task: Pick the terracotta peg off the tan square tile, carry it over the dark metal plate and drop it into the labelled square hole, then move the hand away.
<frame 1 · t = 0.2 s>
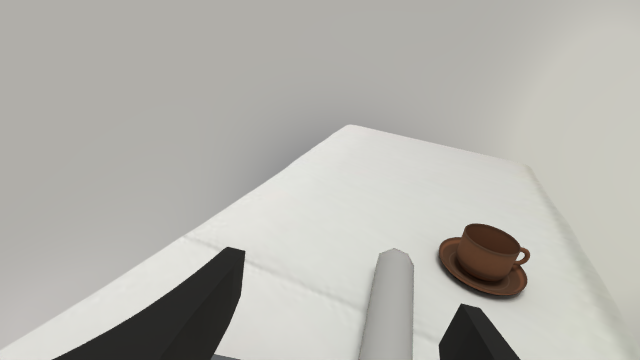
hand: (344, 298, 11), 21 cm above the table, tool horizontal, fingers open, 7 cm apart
cup and saucer: (476, 273, 48), on the table
tube: (413, 337, 33), point 2 cm above the table
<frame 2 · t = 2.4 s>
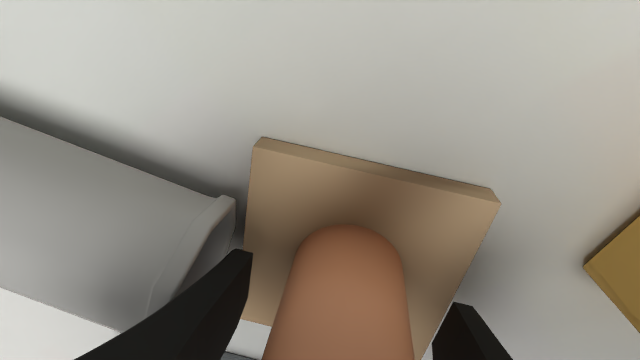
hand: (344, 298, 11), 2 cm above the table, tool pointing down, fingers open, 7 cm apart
tan square tile: (348, 252, 13), on the table
peg: (347, 269, 12), point 1 cm above the table, touching tan square tile
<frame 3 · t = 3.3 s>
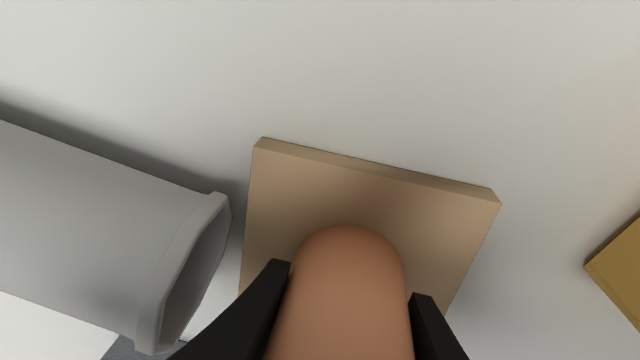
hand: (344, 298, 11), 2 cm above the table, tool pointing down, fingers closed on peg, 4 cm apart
tan square tile: (348, 253, 13), on the table
peg: (347, 270, 12), point 1 cm above the table, touching gripper, tan square tile
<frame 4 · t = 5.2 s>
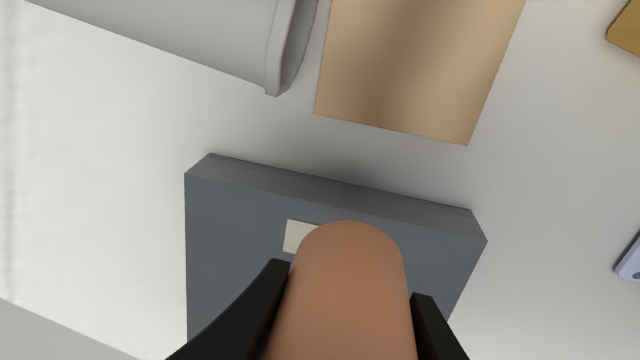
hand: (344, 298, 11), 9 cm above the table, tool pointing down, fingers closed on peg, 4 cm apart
tan square tile: (410, 45, 16), on the table
peg: (348, 267, 12), point 8 cm above the table, touching gripper
hole plate: (315, 280, 23), on the table
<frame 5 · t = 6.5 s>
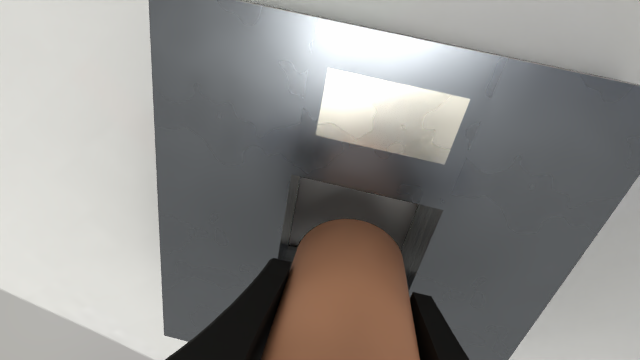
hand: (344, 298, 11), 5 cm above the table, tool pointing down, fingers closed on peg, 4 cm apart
peg: (348, 266, 12), point 4 cm above the table, touching gripper
hole plate: (352, 213, 16), on the table
when the fingers open (5 cm above the table, at t = 7.3 s): peg drops 4 cm, resting in hole plate.
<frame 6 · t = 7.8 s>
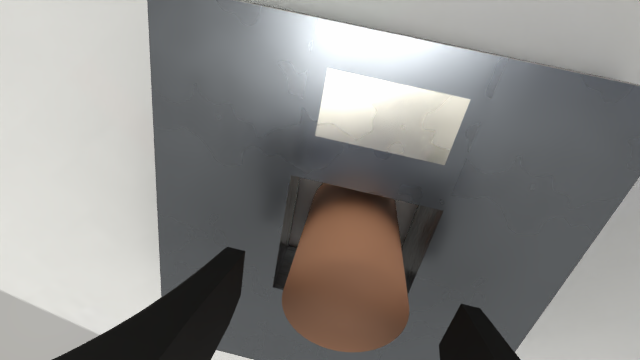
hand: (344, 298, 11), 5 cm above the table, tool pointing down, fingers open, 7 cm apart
peg: (353, 210, 16), resting in hole plate
hole plate: (352, 213, 16), on the table
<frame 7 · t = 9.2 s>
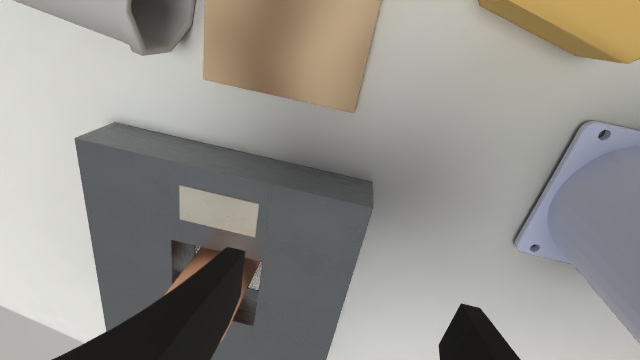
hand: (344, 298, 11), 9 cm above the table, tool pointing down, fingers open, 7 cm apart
tan square tile: (293, 10, 16), on the table
peg: (232, 253, 23), resting in hole plate
hole plate: (232, 255, 23), on the table
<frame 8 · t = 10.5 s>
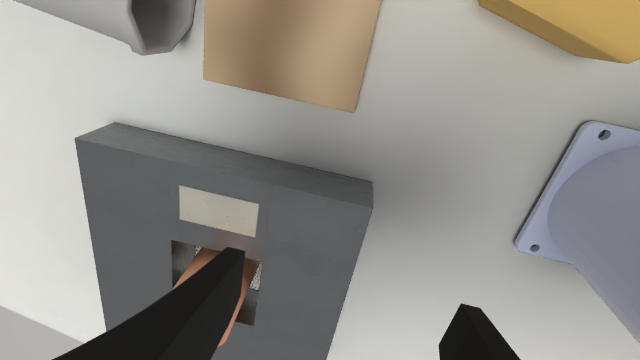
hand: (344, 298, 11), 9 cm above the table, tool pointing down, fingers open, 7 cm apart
tan square tile: (293, 10, 16), on the table
peg: (232, 253, 23), resting in hole plate
hole plate: (232, 255, 23), on the table
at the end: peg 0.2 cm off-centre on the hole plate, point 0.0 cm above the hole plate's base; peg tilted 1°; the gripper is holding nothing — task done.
